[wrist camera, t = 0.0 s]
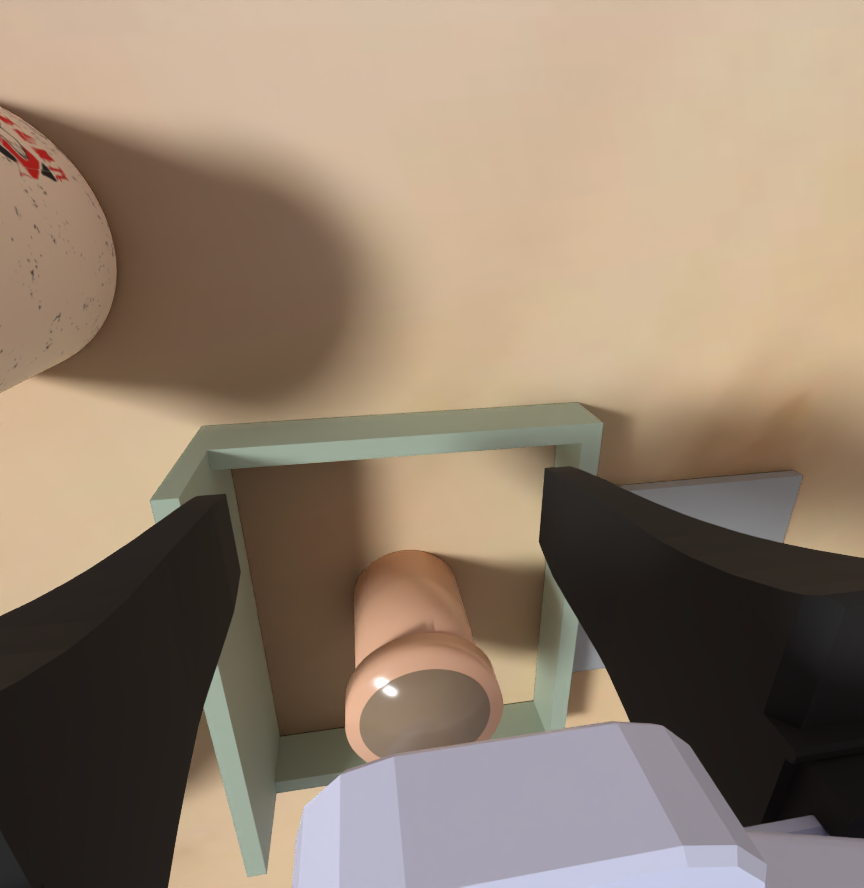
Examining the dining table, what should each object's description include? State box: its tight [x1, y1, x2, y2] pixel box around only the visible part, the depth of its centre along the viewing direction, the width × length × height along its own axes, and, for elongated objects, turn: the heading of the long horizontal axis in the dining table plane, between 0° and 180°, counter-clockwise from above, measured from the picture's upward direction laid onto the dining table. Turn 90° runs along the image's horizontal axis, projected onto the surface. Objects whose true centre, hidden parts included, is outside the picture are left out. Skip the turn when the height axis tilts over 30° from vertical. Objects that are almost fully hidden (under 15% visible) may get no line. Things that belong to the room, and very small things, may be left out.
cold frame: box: [150, 402, 603, 877], centre depth 23 cm, size 19×16×6 cm
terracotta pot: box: [345, 550, 503, 762], centre depth 22 cm, size 6×6×7 cm
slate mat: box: [572, 470, 803, 672], centre depth 27 cm, size 11×11×1 cm
